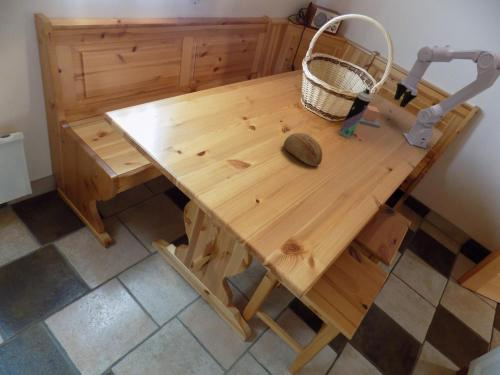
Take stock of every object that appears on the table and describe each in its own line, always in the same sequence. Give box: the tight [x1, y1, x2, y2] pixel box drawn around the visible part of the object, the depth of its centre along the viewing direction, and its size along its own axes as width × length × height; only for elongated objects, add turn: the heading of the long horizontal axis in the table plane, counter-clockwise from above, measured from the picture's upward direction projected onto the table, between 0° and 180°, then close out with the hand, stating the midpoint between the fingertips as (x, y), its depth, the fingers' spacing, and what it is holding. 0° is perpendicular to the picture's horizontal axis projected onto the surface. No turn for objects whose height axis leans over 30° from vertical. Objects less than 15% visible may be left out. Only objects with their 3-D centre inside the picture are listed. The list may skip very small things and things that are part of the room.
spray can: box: [339, 87, 372, 139], centre depth 127 cm, size 6×6×20 cm
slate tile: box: [358, 116, 381, 129], centre depth 149 cm, size 10×10×1 cm
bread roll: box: [283, 132, 323, 167], centre depth 108 cm, size 10×15×8 cm, turn 48°
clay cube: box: [363, 104, 380, 122], centre depth 147 cm, size 5×5×5 cm
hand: (398, 103), depth 149 cm, fingers open, 7 cm apart
